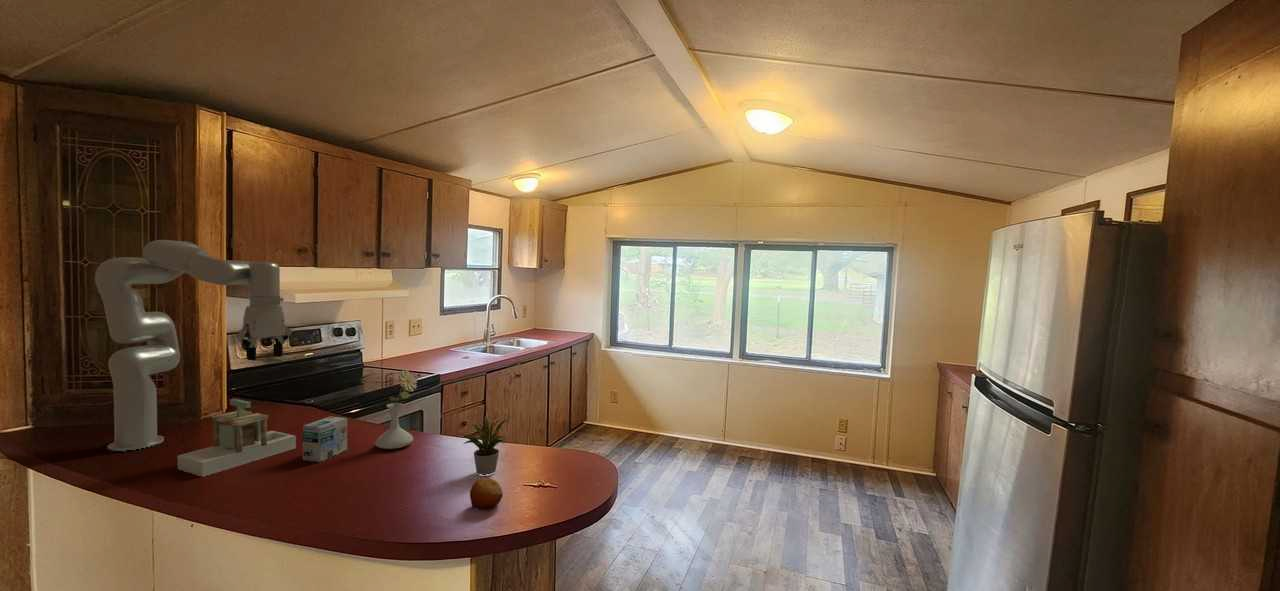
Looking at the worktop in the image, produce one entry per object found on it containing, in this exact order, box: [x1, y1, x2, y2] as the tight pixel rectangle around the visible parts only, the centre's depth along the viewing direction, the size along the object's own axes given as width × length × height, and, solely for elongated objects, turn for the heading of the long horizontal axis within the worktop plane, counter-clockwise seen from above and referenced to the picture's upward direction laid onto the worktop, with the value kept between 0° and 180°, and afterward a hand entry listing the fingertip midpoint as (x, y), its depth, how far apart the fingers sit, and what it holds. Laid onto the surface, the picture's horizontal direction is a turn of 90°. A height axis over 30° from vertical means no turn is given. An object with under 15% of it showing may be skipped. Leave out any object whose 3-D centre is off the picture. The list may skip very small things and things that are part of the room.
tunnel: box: [211, 409, 269, 452], centre depth 148 cm, size 13×8×9 cm, turn 68°
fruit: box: [469, 477, 503, 511], centre depth 122 cm, size 8×8×8 cm
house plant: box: [459, 416, 511, 475], centre depth 143 cm, size 14×14×16 cm
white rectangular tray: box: [177, 430, 297, 478], centre depth 148 cm, size 12×25×4 cm, turn 158°
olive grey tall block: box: [220, 398, 261, 449], centre depth 148 cm, size 8×7×13 cm
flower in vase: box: [374, 369, 418, 450], centre depth 162 cm, size 13×11×25 cm
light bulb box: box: [302, 415, 348, 463], centre depth 152 cm, size 11×7×11 cm, turn 168°
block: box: [235, 425, 255, 449], centre depth 148 cm, size 5×5×5 cm
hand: (265, 357), depth 153 cm, fingers open, 6 cm apart
